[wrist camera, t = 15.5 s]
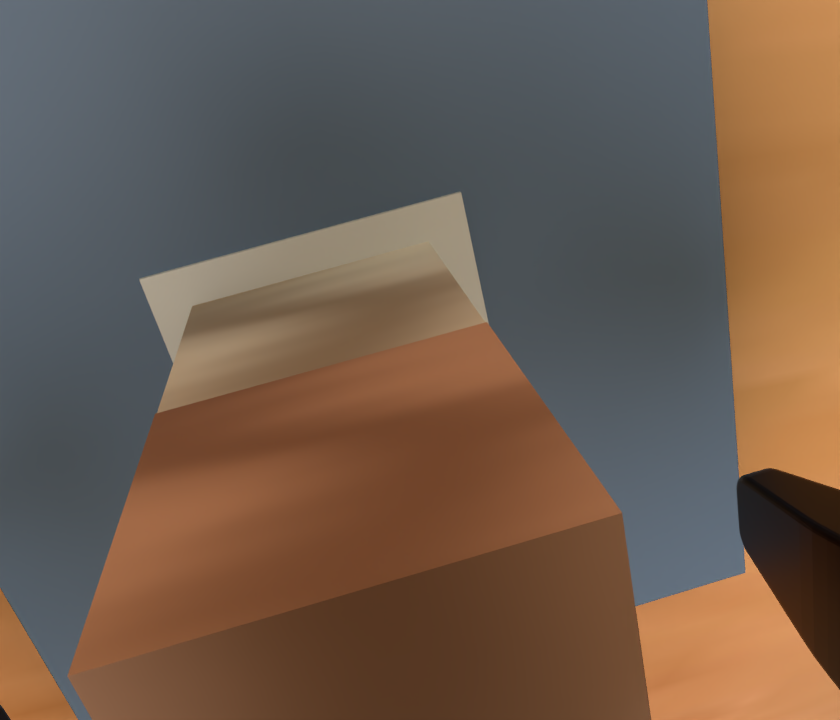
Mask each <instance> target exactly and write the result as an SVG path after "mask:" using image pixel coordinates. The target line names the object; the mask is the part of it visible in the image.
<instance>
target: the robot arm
mask: <svg viewBox="0 0 840 720" xmlns="http://www.w3.org/2000/svg"><path fill="white" fill-rule="evenodd" d="M736 491H737V506H738V520H739V532H740V537H741V540H742V543H743V545H744V547H745V549H746V551H747V553H748V554H749V556H750V557H751V559H752V560H753V562H754V564H755V565H756V567H757V568H758V570H759V572H760V573H761V575H762V576H763V578H764V579H765V581H766V583H767V584H768V586H769V587H770V589H771V590H772V592H773V594H774V595H775V597H776V598H777V600H778V601H779V603H780V605H781V606H782V608H783V609H784V611H785V612H786V614H787V616H788V617H789V619H790V620H791V622H792V623H793V625H794V627H795V628H796V630H797V631H798V633H799V635H800V636H801V638H802V639H803V641H804V642H805V644H806V645H807V647H808V648H809V650H810V651H811V653H812V654H813V656H814V657H815V658H816V660H817V661H818V662H819V664H820V665H821V666H822V668H823V669H824V670H825V672H826V673H827V674H828V676H829V677H830V678H831V679H832V681H833V682H834V683H835V684H836V686H837V687H838V688H839V689H840V490H839V489H836V488H833V487H830V486H826V485H823V484H820V483H817V482H814V481H811V480H808V479H805V478H802V477H799V476H796V475H793V474H789V473H786V472H783V471H780V470H777V469H773V468H767V469H763V470H760V471H756V472H753V473H750V474H746V475H743V476H741V477H740V478H739V480H738V481H737V487H736ZM0 720H10V718H9V717H8V715H7V714H6V712H5V710H4V709H3V708H2V706H1V705H0Z"/></svg>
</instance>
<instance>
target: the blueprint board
mask: <svg viewBox="0 0 840 720" xmlns="http://www.w3.org/2000/svg"><path fill="white" fill-rule="evenodd" d="M428 241H429V243H430V244H431V246H432V247H433V248H434V250H435V251H436V253H437V254H438V256H439V257H440V258H441V260H442V261H443V263H444V264H445V266H446V267H447V268H448V270H449V271H450V273H451V274H452V276H453V277H454V278H455V280H456V281H457V283H458V284H459V286H460V287H461V288H462V290H463V291H464V293H465V294H466V296H467V297H468V298H469V300H470V301H471V303H472V304H473V306H474V307H475V308H476V310H477V311H478V313H479V314H480V315H481V317H482V318H483V320H484V321H485V322H487V323H488V324H489V325H490V327H491V328H492V330H493V331H494V333H495V334H496V335H497V337H498V338H499V340H500V341H501V342H502V344H503V345H504V347H505V348H506V350H507V351H508V352H509V354H510V355H511V357H512V358H513V359H514V361H515V362H516V364H517V365H518V366H519V368H520V369H521V371H522V372H523V374H524V375H525V376H526V378H527V379H528V381H529V382H530V383H531V385H532V386H533V388H534V389H535V390H536V392H537V393H538V395H539V396H540V398H541V399H542V400H543V402H544V403H545V405H546V406H547V407H548V409H549V410H550V412H551V413H552V414H553V416H554V417H555V419H556V420H557V422H558V423H559V424H560V426H561V427H562V429H563V430H564V431H565V433H566V434H567V436H568V437H569V438H570V440H571V441H572V443H573V444H574V446H575V447H576V448H577V450H578V451H579V453H580V454H581V455H582V457H583V458H584V460H585V461H586V462H587V464H588V465H589V467H590V468H591V470H592V471H593V472H594V474H595V475H596V477H597V478H598V479H599V481H600V482H601V484H602V485H603V486H604V488H605V489H606V491H607V492H608V494H609V495H610V496H611V498H612V499H613V501H614V502H615V503H616V505H617V506H618V508H619V509H620V510H621V512H622V515H623V522H624V529H625V537H626V544H627V551H628V558H629V565H630V572H631V579H632V586H633V594H634V601H635V606H638V605H641V604H644V603H648V602H651V601H654V600H658V599H661V598H664V597H667V596H671V595H674V594H677V593H680V592H684V591H687V590H690V589H693V588H697V587H700V586H703V585H706V584H710V583H713V582H716V581H719V580H723V579H726V578H729V577H733V576H736V575H739V574H742V573H745V560H744V545H743V543H742V540H741V537H740V532H739V520H738V506H737V491H736V487H737V481H738V480H739V470H738V455H737V440H736V425H735V410H734V395H733V381H732V366H731V351H730V336H729V321H728V306H727V291H726V276H725V261H724V246H723V231H722V216H721V201H720V186H719V171H718V156H717V141H716V126H715V111H714V96H713V82H712V67H711V52H710V37H709V22H708V7H707V0H0V588H1V590H2V592H3V593H4V595H5V597H6V598H7V600H8V602H9V603H10V605H11V607H12V609H13V610H14V612H15V614H16V615H17V617H18V619H19V620H20V622H21V624H22V625H23V627H24V629H25V631H26V632H27V634H28V636H29V637H30V639H31V641H32V642H33V644H34V646H35V647H36V649H37V651H38V652H39V654H40V656H41V658H42V659H43V661H44V663H45V664H46V666H47V668H48V669H49V671H50V673H51V674H52V676H53V678H54V679H55V681H56V683H57V685H58V686H59V688H60V690H61V691H62V693H63V695H64V696H65V698H66V700H67V701H68V703H69V705H70V706H71V708H72V710H73V712H74V713H75V715H76V717H77V718H78V720H92V719H91V717H90V715H89V713H88V712H87V710H86V708H85V706H84V705H83V703H82V701H81V699H80V698H79V696H78V694H77V692H76V691H75V689H74V687H73V685H72V684H71V682H70V680H69V678H68V677H67V676H68V673H69V670H70V667H71V664H72V661H73V658H74V655H75V652H76V649H77V646H78V643H79V640H80V637H81V634H82V631H83V628H84V625H85V622H86V619H87V616H88V613H89V610H90V607H91V604H92V601H93V598H94V595H95V592H96V589H97V586H98V583H99V580H100V577H101V574H102V571H103V568H104V565H105V562H106V559H107V556H108V553H109V550H110V547H111V544H112V541H113V538H114V535H115V532H116V529H117V526H118V523H119V520H120V517H121V514H122V511H123V508H124V505H125V502H126V499H127V496H128V493H129V490H130V487H131V484H132V481H133V478H134V475H135V472H136V469H137V466H138V463H139V460H140V457H141V454H142V451H143V448H144V445H145V442H146V439H147V436H148V433H149V430H150V427H151V424H152V421H153V418H154V415H155V414H156V413H157V411H158V408H159V405H160V402H161V399H162V396H163V393H164V390H165V387H166V384H167V381H168V378H169V375H170V372H171V369H172V366H173V363H174V360H175V357H176V354H177V351H178V348H179V345H180V342H181V339H182V336H183V333H184V330H185V326H186V323H187V320H188V317H189V314H190V311H191V308H192V306H194V305H198V304H202V303H205V302H209V301H213V300H216V299H220V298H223V297H227V296H231V295H234V294H238V293H242V292H245V291H249V290H253V289H256V288H260V287H264V286H267V285H271V284H275V283H278V282H282V281H286V280H289V279H293V278H296V277H300V276H304V275H307V274H311V273H315V272H318V271H322V270H326V269H329V268H333V267H337V266H340V265H344V264H348V263H351V262H355V261H358V260H362V259H366V258H369V257H373V256H377V255H380V254H384V253H388V252H391V251H395V250H399V249H402V248H406V247H410V246H413V245H417V244H421V243H424V242H428Z"/></svg>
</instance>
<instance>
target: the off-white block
mask: <svg viewBox="0 0 840 720" xmlns="http://www.w3.org/2000/svg"><path fill="white" fill-rule="evenodd" d="M482 323H485V321H484V320H483V318H482V317H481V315H480V314H479V313H478V311H477V310H476V308H475V307H474V306H473V304H472V303H471V301H470V300H469V298H468V297H467V296H466V294H465V293H464V291H463V290H462V288H461V287H460V286H459V284H458V283H457V281H456V280H455V278H454V277H453V276H452V274H451V273H450V271H449V270H448V268H447V267H446V266H445V264H444V263H443V261H442V260H441V258H440V257H439V256H438V254H437V253H436V251H435V250H434V248H433V247H432V246H431V244H430V243H429V241H428V242H424V243H421V244H417V245H413V246H410V247H406V248H402V249H399V250H395V251H391V252H388V253H384V254H380V255H377V256H373V257H369V258H366V259H362V260H358V261H355V262H351V263H348V264H344V265H340V266H337V267H333V268H329V269H326V270H322V271H318V272H315V273H311V274H307V275H304V276H300V277H296V278H293V279H289V280H286V281H282V282H278V283H275V284H271V285H267V286H264V287H260V288H256V289H253V290H249V291H245V292H242V293H238V294H234V295H231V296H227V297H223V298H220V299H216V300H213V301H209V302H205V303H202V304H198V305H194V306H192V308H191V311H190V314H189V317H188V320H187V323H186V326H185V330H184V333H183V336H182V339H181V342H180V345H179V348H178V351H177V354H176V357H175V360H174V363H173V366H172V369H171V372H170V375H169V378H168V381H167V384H166V387H165V390H164V393H163V396H162V399H161V402H160V405H159V408H158V411H157V413H160V412H163V411H167V410H170V409H174V408H178V407H181V406H185V405H189V404H192V403H196V402H199V401H203V400H207V399H210V398H214V397H217V396H221V395H225V394H228V393H232V392H236V391H239V390H243V389H246V388H250V387H254V386H257V385H261V384H265V383H268V382H272V381H275V380H279V379H283V378H286V377H290V376H293V375H297V374H301V373H304V372H308V371H312V370H315V369H319V368H322V367H326V366H330V365H333V364H337V363H340V362H344V361H348V360H351V359H355V358H359V357H362V356H366V355H369V354H373V353H377V352H380V351H384V350H388V349H391V348H395V347H398V346H402V345H406V344H409V343H413V342H416V341H420V340H424V339H427V338H431V337H435V336H438V335H442V334H445V333H449V332H453V331H456V330H460V329H463V328H467V327H471V326H474V325H478V324H482Z"/></svg>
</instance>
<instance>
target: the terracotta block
mask: <svg viewBox="0 0 840 720" xmlns="http://www.w3.org/2000/svg"><path fill="white" fill-rule="evenodd" d="M67 677H68V678H69V680H70V682H71V684H72V685H73V687H74V689H75V691H76V692H77V694H78V696H79V698H80V699H81V701H82V703H83V705H84V706H85V708H86V710H87V712H88V713H89V715H90V717H91V719H92V720H651V715H650V708H649V701H648V693H647V686H646V679H645V672H644V665H643V658H642V651H641V644H640V636H639V629H638V622H637V615H636V608H635V601H634V594H633V586H632V579H631V572H630V565H629V558H628V551H627V544H626V537H625V529H624V522H623V515H622V512H621V510H620V509H619V508H618V506H617V505H616V503H615V502H614V501H613V499H612V498H611V496H610V495H609V494H608V492H607V491H606V489H605V488H604V486H603V485H602V484H601V482H600V481H599V479H598V478H597V477H596V475H595V474H594V472H593V471H592V470H591V468H590V467H589V465H588V464H587V462H586V461H585V460H584V458H583V457H582V455H581V454H580V453H579V451H578V450H577V448H576V447H575V446H574V444H573V443H572V441H571V440H570V438H569V437H568V436H567V434H566V433H565V431H564V430H563V429H562V427H561V426H560V424H559V423H558V422H557V420H556V419H555V417H554V416H553V414H552V413H551V412H550V410H549V409H548V407H547V406H546V405H545V403H544V402H543V400H542V399H541V398H540V396H539V395H538V393H537V392H536V390H535V389H534V388H533V386H532V385H531V383H530V382H529V381H528V379H527V378H526V376H525V375H524V374H523V372H522V371H521V369H520V368H519V366H518V365H517V364H516V362H515V361H514V359H513V358H512V357H511V355H510V354H509V352H508V351H507V350H506V348H505V347H504V345H503V344H502V342H501V341H500V340H499V338H498V337H497V335H496V334H495V333H494V331H493V330H492V328H491V327H490V325H489V324H488V323H487V322H485V323H482V324H478V325H474V326H471V327H467V328H463V329H460V330H456V331H453V332H449V333H445V334H442V335H438V336H435V337H431V338H427V339H424V340H420V341H416V342H413V343H409V344H406V345H402V346H398V347H395V348H391V349H388V350H384V351H380V352H377V353H373V354H369V355H366V356H362V357H359V358H355V359H351V360H348V361H344V362H340V363H337V364H333V365H330V366H326V367H322V368H319V369H315V370H312V371H308V372H304V373H301V374H297V375H293V376H290V377H286V378H283V379H279V380H275V381H272V382H268V383H265V384H261V385H257V386H254V387H250V388H246V389H243V390H239V391H236V392H232V393H228V394H225V395H221V396H217V397H214V398H210V399H207V400H203V401H199V402H196V403H192V404H189V405H185V406H181V407H178V408H174V409H170V410H167V411H163V412H160V413H156V414H155V415H154V418H153V421H152V424H151V427H150V430H149V433H148V436H147V439H146V442H145V445H144V448H143V451H142V454H141V457H140V460H139V463H138V466H137V469H136V472H135V475H134V478H133V481H132V484H131V487H130V490H129V493H128V496H127V499H126V502H125V505H124V508H123V511H122V514H121V517H120V520H119V523H118V526H117V529H116V532H115V535H114V538H113V541H112V544H111V547H110V550H109V553H108V556H107V559H106V562H105V565H104V568H103V571H102V574H101V577H100V580H99V583H98V586H97V589H96V592H95V595H94V598H93V601H92V604H91V607H90V610H89V613H88V616H87V619H86V622H85V625H84V628H83V631H82V634H81V637H80V640H79V643H78V646H77V649H76V652H75V655H74V658H73V661H72V664H71V667H70V670H69V673H68V676H67Z"/></svg>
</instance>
